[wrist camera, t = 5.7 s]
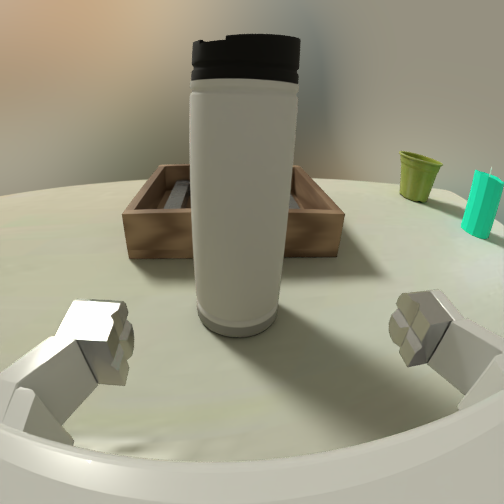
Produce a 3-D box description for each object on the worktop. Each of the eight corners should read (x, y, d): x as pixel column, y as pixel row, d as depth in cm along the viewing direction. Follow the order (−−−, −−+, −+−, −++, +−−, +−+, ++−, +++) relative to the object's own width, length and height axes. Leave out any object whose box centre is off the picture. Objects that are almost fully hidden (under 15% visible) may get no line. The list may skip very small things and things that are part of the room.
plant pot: (399, 187, 60) (406, 150, 56) (437, 201, 55) (445, 162, 50) (385, 194, 54) (393, 151, 50) (429, 210, 49) (439, 166, 44)
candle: (465, 234, 40) (484, 165, 34) (457, 221, 45) (472, 158, 39) (492, 242, 39) (511, 176, 33) (482, 228, 43) (498, 168, 38)
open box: (129, 258, 29) (122, 214, 27) (161, 194, 47) (159, 164, 44) (336, 256, 32) (344, 214, 29) (296, 194, 49) (298, 165, 47)
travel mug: (293, 305, 24) (322, 40, 15) (244, 352, 20) (260, 11, 10) (234, 277, 28) (242, 43, 18) (181, 313, 23) (170, 30, 13)
